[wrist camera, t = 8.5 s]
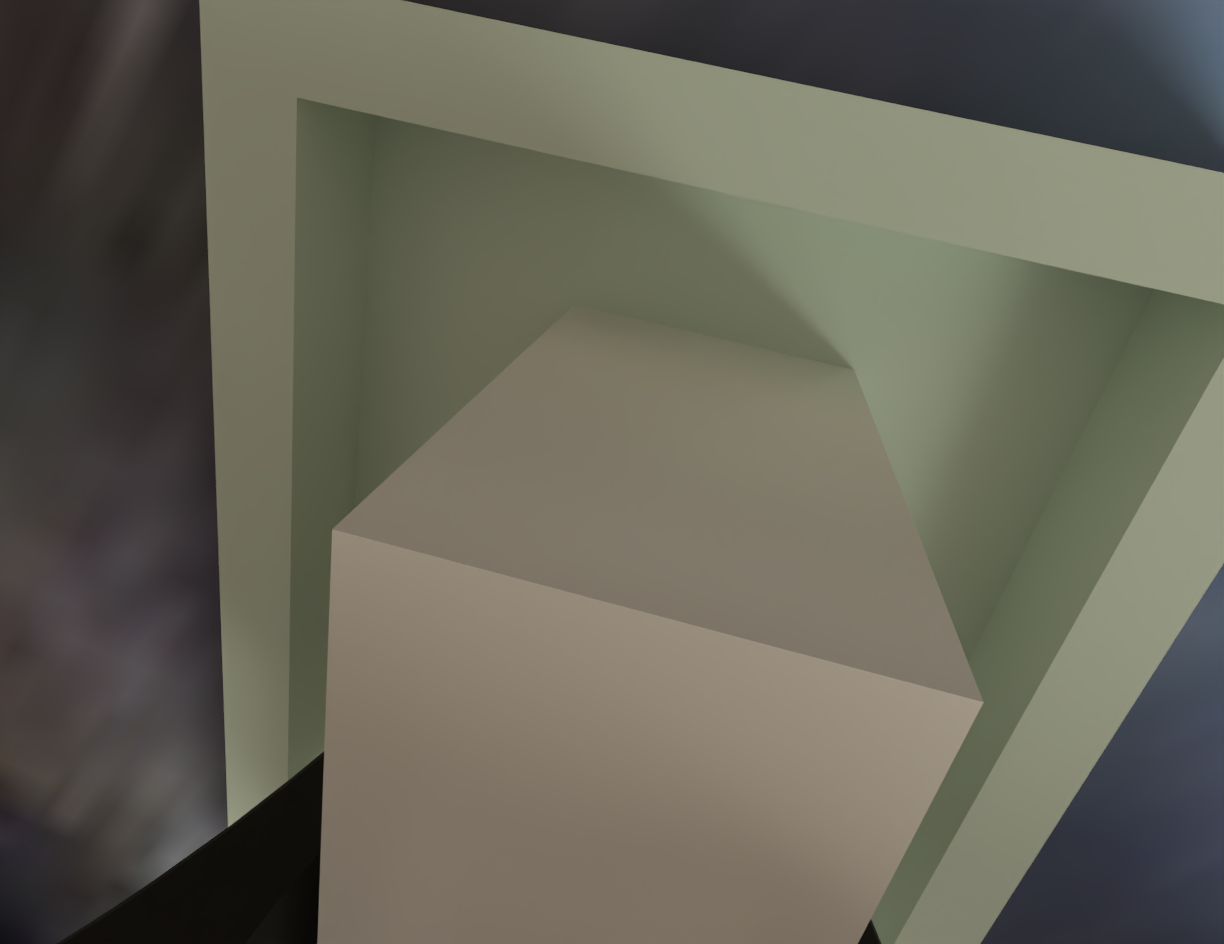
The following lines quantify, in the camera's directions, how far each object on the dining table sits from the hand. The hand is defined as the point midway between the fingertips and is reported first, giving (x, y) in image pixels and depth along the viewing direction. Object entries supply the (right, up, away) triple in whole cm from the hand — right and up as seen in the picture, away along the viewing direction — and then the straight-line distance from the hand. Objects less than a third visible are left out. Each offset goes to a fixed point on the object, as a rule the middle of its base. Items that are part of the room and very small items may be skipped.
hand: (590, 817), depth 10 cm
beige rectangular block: (+1, +1, +2) cm, 2 cm away
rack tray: (+1, +1, +3) cm, 3 cm away
